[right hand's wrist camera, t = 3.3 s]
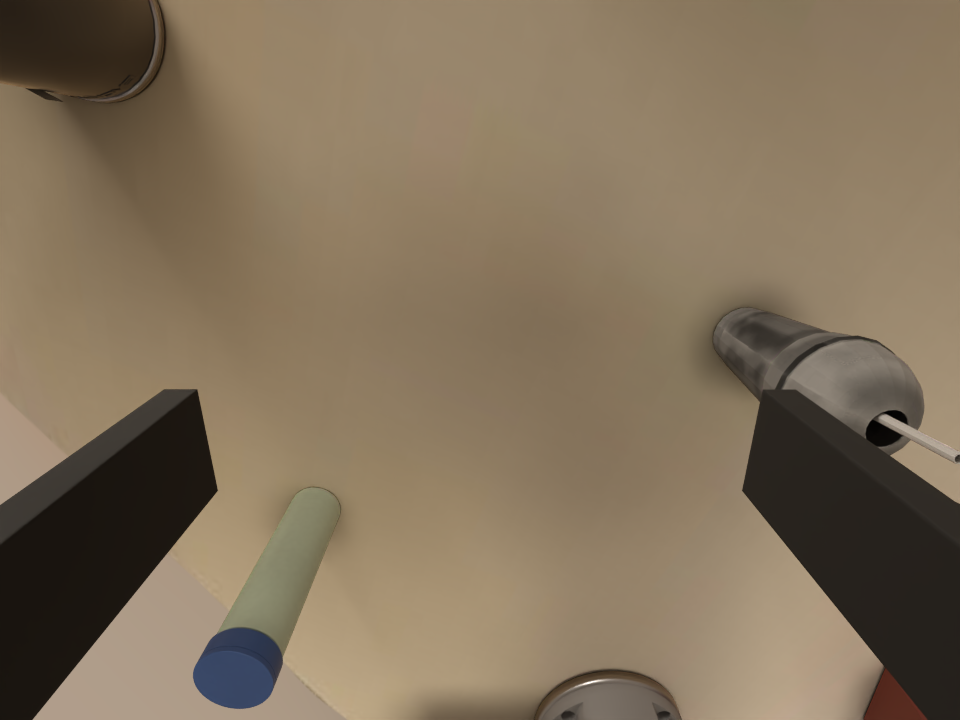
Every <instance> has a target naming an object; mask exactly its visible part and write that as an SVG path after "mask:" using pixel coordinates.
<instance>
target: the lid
mask: <svg viewBox="0 0 960 720" xmlns="http://www.w3.org/2000/svg"><path fill="white" fill-rule="evenodd" d="M282 664H283V658H282V653H281V651H280V649H279V647H278V646H277V644H276V643H275V642H274V641H273V640H272V639H270V638H269V637H268V636H266V635H264V634H262V633H260V632H258V631H255V630H251V629H246V628H232V629H227V630H224V631H222V632H220V633H218V634H216V635H215V636H214V637H213V638H212V639H211V640H210V641H209V643H208V645H207V646H206V648H205V650H204V652H203V653H202V655H201V657H200V659H199V660H198V662H197V664H196V666H195V668H194V672H193V679H194V683H195V685H196V687H197V689H198V690H199V691H200V693H201V694H202V695H203V696H205V697H206V698H207V699H209V700H210V701H212V702H214V703H216V704H218V705H221V706H224V707H228V708H235V709H244V708H251V707H254V706H257V705H259V704H261V703H263V702H264V701H265V700H266V699H267V698H268V697H269V696H270V695H271V693H272V691H273V688H274V685H275V683H276V680H277V678H278V675H279V673H280V670H281V668H282Z"/></svg>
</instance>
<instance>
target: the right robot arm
mask: <svg viewBox="0 0 960 720" xmlns="http://www.w3.org/2000/svg"><path fill="white" fill-rule="evenodd" d="M217 491H218V489H217V484H216V480H215V475H214V470H213V465H212V460H211V455H210V450H209V445H208V440H207V435H206V430H205V425H204V420H203V415H202V410H201V406H200V401H199V396H198V391H197V389H164V390H163V391H161V392H160V393H159V394H157V395H156V396H154V397H153V398H151V399H150V400H149V401H147V402H146V403H144V404H143V405H142V406H140V407H139V408H137V409H136V410H134V411H133V412H132V413H130V414H129V415H127V416H126V417H125V418H123V419H122V420H120V421H119V422H117V423H116V424H115V425H113V426H112V427H110V428H109V429H108V430H106V431H105V432H103V433H102V434H100V435H99V436H98V437H96V438H95V439H93V440H92V441H91V442H89V443H88V444H86V445H85V446H83V447H82V448H81V449H79V450H78V451H76V452H75V453H73V454H72V455H71V456H69V457H68V458H66V459H65V460H64V461H62V462H61V463H59V464H58V465H56V466H55V467H54V468H52V469H51V470H49V471H48V472H47V473H45V474H44V475H42V476H41V477H39V478H38V479H37V480H35V481H34V482H32V483H31V484H30V485H28V486H27V487H25V488H24V489H23V490H21V491H20V492H18V493H17V494H15V495H14V496H13V497H11V498H10V499H8V500H7V501H5V502H4V503H3V504H1V505H0V720H33V718H34V717H35V716H36V715H37V713H38V712H39V711H40V710H41V708H42V707H43V706H44V705H45V704H46V702H47V701H48V700H49V699H50V697H51V696H52V695H53V694H54V692H55V691H56V690H57V689H58V687H59V686H60V685H61V684H62V683H63V681H64V680H65V679H66V678H67V676H68V675H69V674H70V673H71V671H72V670H73V669H74V668H75V666H76V665H77V664H78V663H79V662H80V660H81V659H82V658H83V657H84V655H85V654H86V653H87V652H88V650H89V649H90V648H91V647H92V645H93V644H94V643H95V642H96V640H97V639H98V638H99V637H100V636H101V634H102V633H103V632H104V631H105V629H106V628H107V627H108V626H109V624H110V623H111V622H112V621H113V620H114V618H115V617H116V616H117V615H118V613H119V612H120V611H121V610H122V608H123V607H124V606H125V605H126V603H127V602H128V601H129V600H130V598H131V597H132V596H133V595H134V594H135V592H136V591H137V590H138V589H139V587H140V586H141V585H142V584H143V582H144V581H145V580H146V579H147V578H148V576H149V575H150V574H151V573H152V571H153V570H154V569H155V568H156V566H157V565H158V564H159V563H160V561H161V560H162V559H163V558H164V557H165V555H166V554H167V553H168V552H169V550H170V549H171V548H172V547H173V545H174V544H175V543H176V542H177V540H178V539H179V538H180V537H181V536H182V534H183V533H184V532H185V531H186V529H187V528H188V527H189V526H190V524H191V523H192V522H193V521H194V519H195V518H196V517H197V516H198V515H199V513H200V512H201V511H202V510H203V508H204V507H205V506H206V505H207V503H208V502H209V501H210V500H211V498H212V497H213V496H214V495H215V494H216V492H217ZM742 491H743V492H744V494H745V495H746V496H747V497H748V498H749V500H750V501H751V502H752V503H753V505H754V506H755V507H756V508H757V510H758V511H759V512H760V513H761V515H762V516H763V517H764V518H765V519H766V521H767V522H768V523H769V524H770V526H771V527H772V528H773V529H774V531H775V532H776V533H777V534H778V536H779V537H780V538H781V539H782V540H783V542H784V543H785V544H786V545H787V547H788V548H789V549H790V550H791V552H792V553H793V554H794V555H795V557H796V558H797V559H798V560H799V561H800V563H801V564H802V565H803V566H804V568H805V569H806V570H807V571H808V573H809V574H810V575H811V576H812V578H813V579H814V580H815V581H816V582H817V584H818V585H819V586H820V587H821V589H822V590H823V591H824V592H825V594H826V595H827V596H828V597H829V599H830V600H831V601H832V602H833V603H834V605H835V606H836V607H837V608H838V610H839V611H840V612H841V613H842V615H843V616H844V617H845V618H846V620H847V621H848V622H849V623H850V624H851V626H852V627H853V628H854V629H855V631H856V632H857V633H858V634H859V636H860V637H861V638H862V639H863V641H864V642H865V643H866V644H867V645H868V647H869V648H870V649H871V650H872V652H873V653H874V654H875V655H876V657H877V658H878V659H879V660H880V662H881V663H882V664H883V665H884V666H885V668H886V669H887V670H888V671H889V673H890V674H891V675H892V676H893V678H894V679H895V680H896V681H897V683H898V684H899V685H900V686H901V687H902V689H903V690H904V691H905V692H906V694H907V695H908V696H909V697H910V699H911V700H912V701H913V702H914V704H915V705H916V706H917V707H918V708H919V710H920V711H921V712H922V713H923V715H924V716H925V717H926V718H927V720H960V504H959V503H957V502H955V501H953V500H952V499H950V498H949V497H947V496H946V495H945V494H943V493H942V492H940V491H939V490H938V489H936V488H935V487H933V486H932V485H930V484H929V483H928V482H926V481H925V480H923V479H922V478H921V477H919V476H918V475H916V474H915V473H913V472H912V471H911V470H909V469H908V468H906V467H905V466H904V465H902V464H901V463H899V462H898V461H896V460H895V459H894V458H892V457H891V456H889V455H888V454H887V453H885V452H884V451H882V450H881V449H879V448H878V447H877V446H875V445H874V444H872V443H871V442H869V441H868V440H867V439H865V438H864V437H862V436H861V435H860V434H858V433H857V432H855V431H854V430H852V429H851V428H850V427H848V426H847V425H845V424H844V423H843V422H841V421H840V420H838V419H837V418H835V417H834V416H833V415H831V414H830V413H828V412H827V411H826V410H824V409H823V408H821V407H820V406H818V405H817V404H816V403H814V402H813V401H811V400H810V399H809V398H807V397H806V396H804V395H803V394H801V393H800V392H799V391H797V390H796V389H763V391H762V396H761V401H760V406H759V410H758V415H757V420H756V425H755V430H754V435H753V440H752V445H751V450H750V455H749V460H748V465H747V470H746V475H745V480H744V484H743V489H742ZM535 720H682V719H681V716H680V713H679V711H678V708H677V705H676V703H675V701H674V699H673V697H672V696H671V695H670V693H669V692H668V691H667V690H666V689H665V688H664V687H662V686H661V685H660V684H658V683H657V682H655V681H653V680H651V679H649V678H647V677H644V676H641V675H638V674H634V673H629V672H621V671H604V672H596V673H590V674H586V675H582V676H579V677H576V678H574V679H572V680H569V681H567V682H565V683H563V684H562V685H560V686H559V687H557V688H556V689H555V690H553V691H552V692H551V693H550V694H549V695H548V696H547V697H546V698H545V699H544V700H543V702H542V703H541V704H540V706H539V708H538V710H537V713H536V716H535Z"/></svg>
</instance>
